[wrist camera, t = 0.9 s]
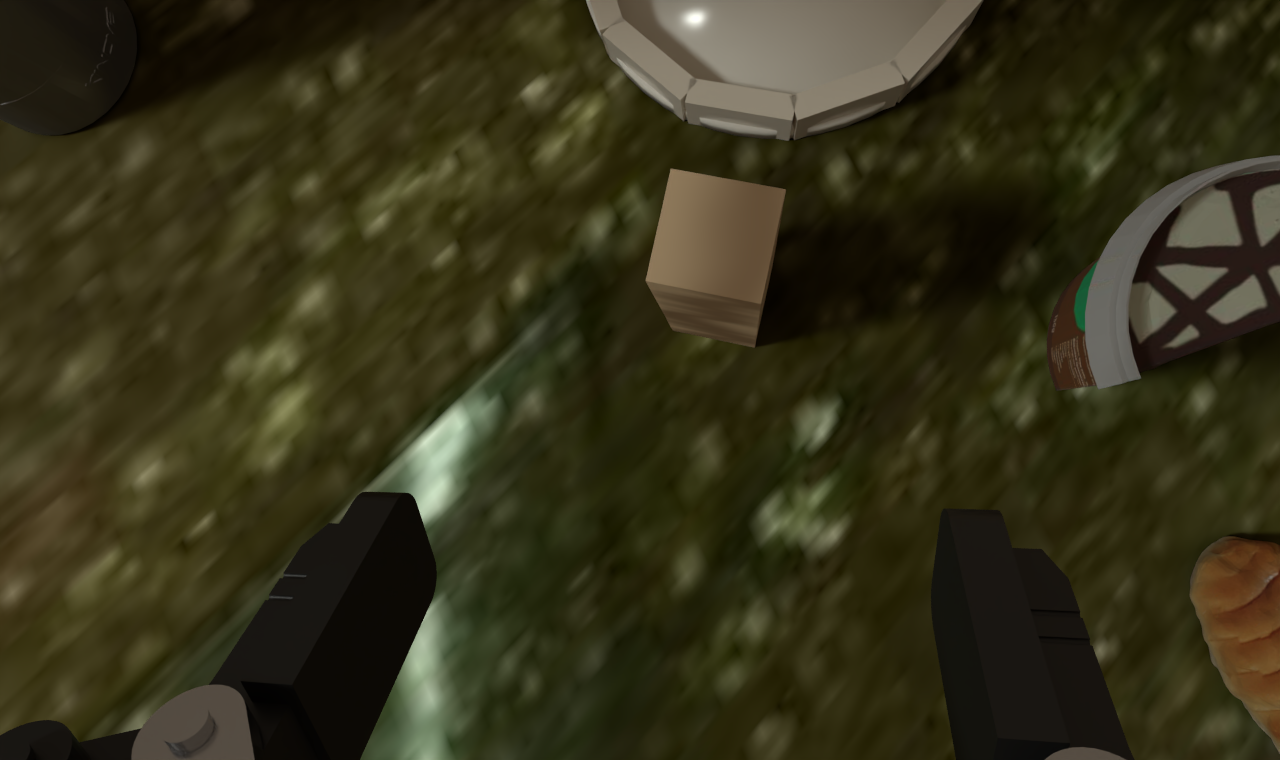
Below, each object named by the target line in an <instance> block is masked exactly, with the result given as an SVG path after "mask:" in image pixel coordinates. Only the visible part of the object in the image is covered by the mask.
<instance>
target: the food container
mask: <svg viewBox="0 0 1280 760" xmlns="http://www.w3.org/2000/svg"><path fill="white" fill-rule="evenodd" d="M1279 322H1280V156H1268V157H1261V158H1254V159H1247V160H1242V161H1237V162H1233V163H1228V164H1224V165H1219V166H1216V167H1212V168H1209V169H1206V170H1202V171H1199V172H1196V173H1193V174H1190V175H1188V176H1186V177H1184V178H1182V179H1180V180H1178V181H1176V182H1174V183H1171V184H1169V185H1167V186H1166V187H1164V188H1163V189H1161V190H1160V191H1158V192H1157V193H1156V194H1154V195H1153V196H1151V197H1150V198H1148V199H1147V200H1145V201H1144V202H1143V203H1142V204H1141V205H1140V206H1139V207H1138V208H1137V209H1136V210H1135V211H1133V212H1132V213H1131V214H1130V215H1129V216H1128V217H1127V218H1126V219H1125V220H1124V222H1123V223H1122V224H1121V226H1120V227H1119V228H1118V230H1117V231H1116V232H1115V233H1114V235H1113V236H1112V237H1111V239H1110V240H1109V242H1108V244H1107V246H1106V248H1105V249H1104V251H1103V253H1102V255H1101V257H1099V258H1098V259H1097V260H1095V261H1094V262H1093V263H1091V264H1090V265H1089V266H1088V267H1086V268H1085V269H1084V270H1082V271H1081V272H1080V273H1079V274H1078V275H1077V276H1076V277H1075V278H1074V279H1073V280H1072V281H1071V282H1070V283H1069V285H1068V286H1067V288H1066V289H1065V290H1064V292H1063V293H1062V294H1061V296H1060V298H1059V300H1058V302H1057V304H1056V306H1055V308H1054V311H1053V314H1052V317H1051V320H1050V323H1049V329H1048V336H1047V358H1048V364H1049V369H1050V374H1051V377H1052V380H1053V382H1054V385H1055V388H1056V391H1057V390H1065V389H1072V388H1080V387H1087V386H1095V385H1097V387H1098V389H1101V388H1105V387H1109V386H1114V385H1118V384H1122V383H1125V382H1128V381H1132V380H1137V379H1140V378H1141V377H1140V374H1139V373H1140V372H1143V371H1146V370H1151V369H1154V368H1156V367H1158V366H1159V365H1161V364H1164V363H1167V362H1169V361H1172V360H1176V359H1177V358H1180V357H1183V356H1186V355H1188V354H1191V353H1194V352H1197V351H1200V350H1202V349H1205V348H1208V347H1211V346H1213V345H1216V344H1219V343H1221V342H1224V341H1227V340H1230V339H1234V338H1236V337H1238V336H1240V335H1243V334H1246V333H1249V332H1252V331H1254V330H1257V329H1260V328H1263V327H1266V326H1268V325H1271V324H1274V323H1279Z"/></svg>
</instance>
